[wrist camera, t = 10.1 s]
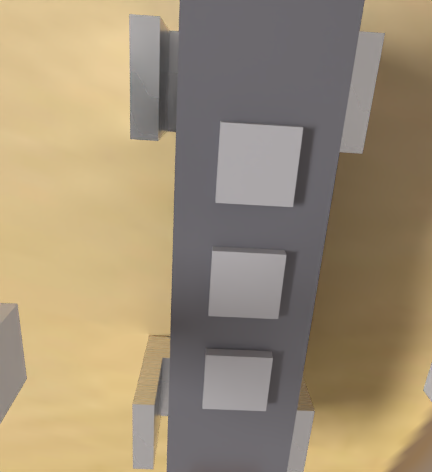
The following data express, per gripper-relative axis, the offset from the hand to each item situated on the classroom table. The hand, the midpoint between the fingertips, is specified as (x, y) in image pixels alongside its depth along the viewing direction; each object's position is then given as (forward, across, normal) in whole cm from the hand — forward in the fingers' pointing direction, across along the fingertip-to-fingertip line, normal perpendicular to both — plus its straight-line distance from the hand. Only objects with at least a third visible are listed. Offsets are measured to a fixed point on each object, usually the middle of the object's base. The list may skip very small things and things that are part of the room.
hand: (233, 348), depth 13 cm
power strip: (+8, 0, -1) cm, 8 cm away
